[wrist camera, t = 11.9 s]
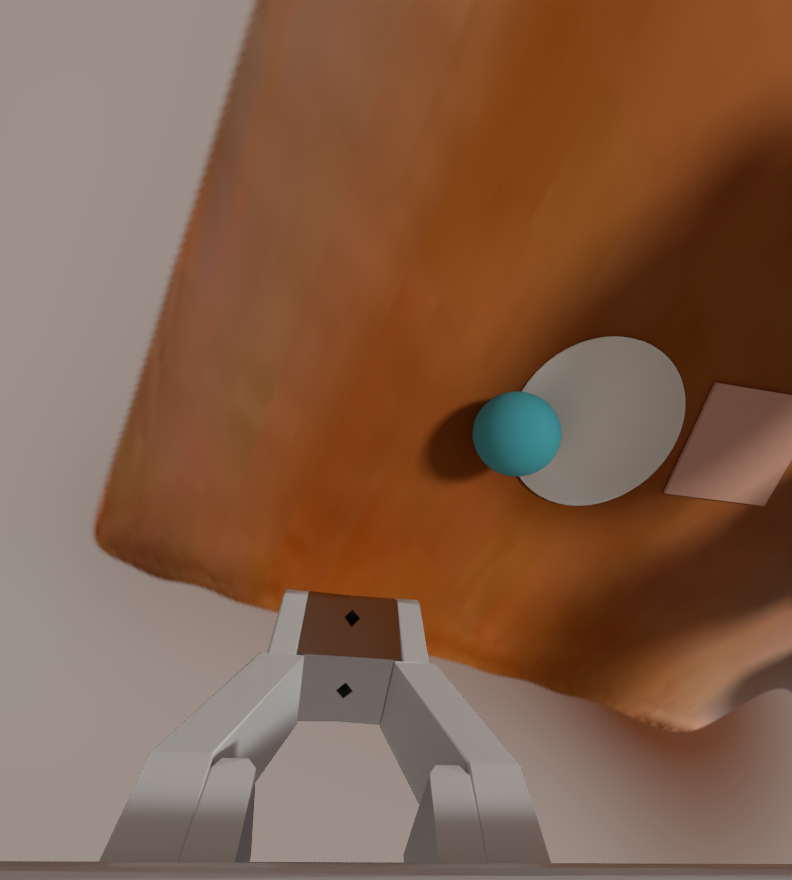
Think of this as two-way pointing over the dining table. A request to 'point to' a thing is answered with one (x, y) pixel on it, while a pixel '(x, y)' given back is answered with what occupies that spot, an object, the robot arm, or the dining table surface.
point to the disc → (607, 418)
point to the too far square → (736, 447)
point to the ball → (517, 433)
